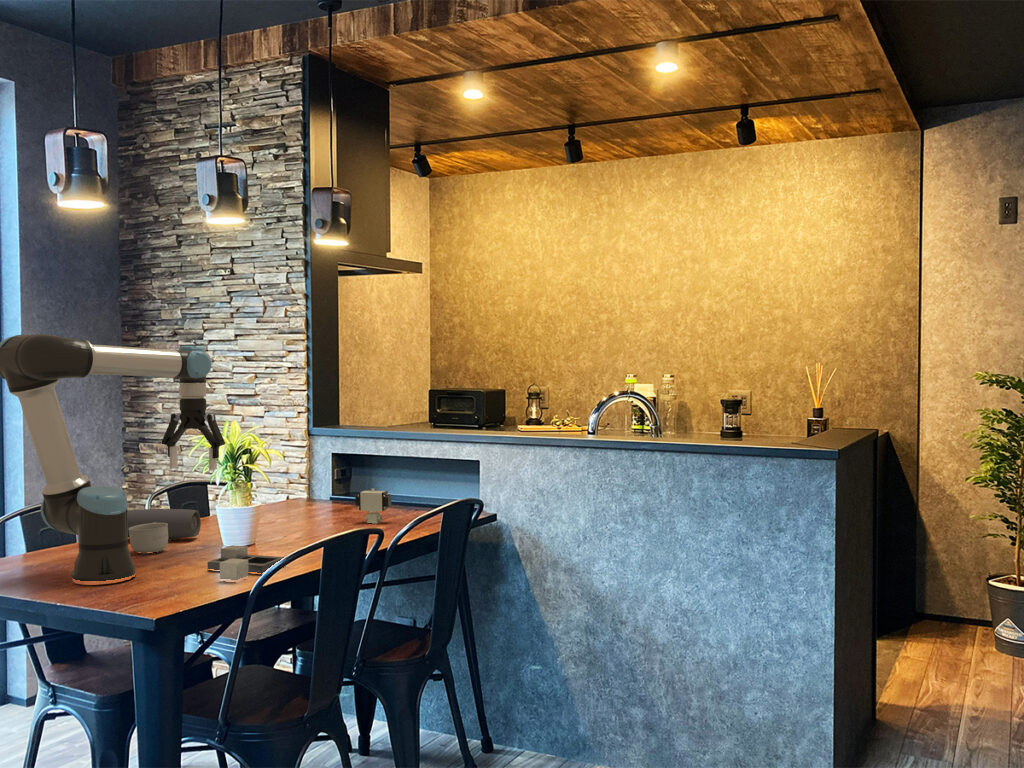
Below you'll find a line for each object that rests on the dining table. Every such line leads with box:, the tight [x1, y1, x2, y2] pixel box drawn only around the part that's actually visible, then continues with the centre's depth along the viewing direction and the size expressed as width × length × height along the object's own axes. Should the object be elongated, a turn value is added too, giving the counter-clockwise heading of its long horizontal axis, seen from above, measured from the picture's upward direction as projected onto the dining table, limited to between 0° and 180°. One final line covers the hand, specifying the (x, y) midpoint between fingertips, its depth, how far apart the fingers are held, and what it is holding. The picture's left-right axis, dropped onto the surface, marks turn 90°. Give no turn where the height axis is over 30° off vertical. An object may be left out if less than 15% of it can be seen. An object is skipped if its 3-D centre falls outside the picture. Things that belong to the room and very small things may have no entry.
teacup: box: [128, 522, 169, 553], centre depth 273 cm, size 14×11×8 cm
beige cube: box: [219, 559, 249, 580], centre depth 235 cm, size 5×5×5 cm
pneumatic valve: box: [354, 488, 393, 525], centre depth 317 cm, size 6×12×12 cm, turn 80°
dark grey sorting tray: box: [207, 544, 285, 574], centre depth 248 cm, size 11×17×6 cm, turn 71°
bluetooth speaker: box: [127, 508, 202, 541], centre depth 290 cm, size 23×9×10 cm, turn 89°
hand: (193, 469), depth 275 cm, fingers open, 13 cm apart
